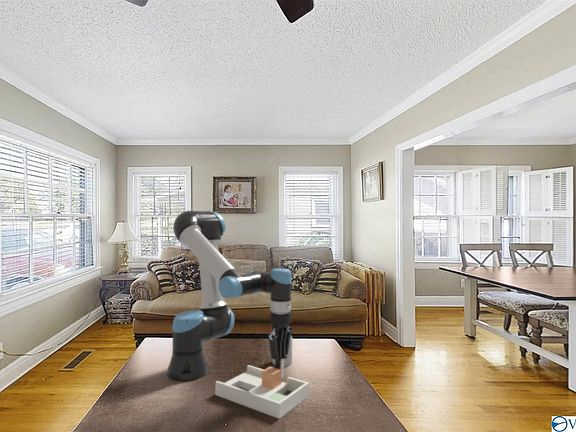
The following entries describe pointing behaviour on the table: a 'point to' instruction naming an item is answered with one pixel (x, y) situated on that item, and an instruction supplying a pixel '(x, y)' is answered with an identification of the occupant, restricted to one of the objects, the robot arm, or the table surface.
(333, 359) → the table surface
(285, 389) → the box
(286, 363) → the mug
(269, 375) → the block
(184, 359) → the robot arm
